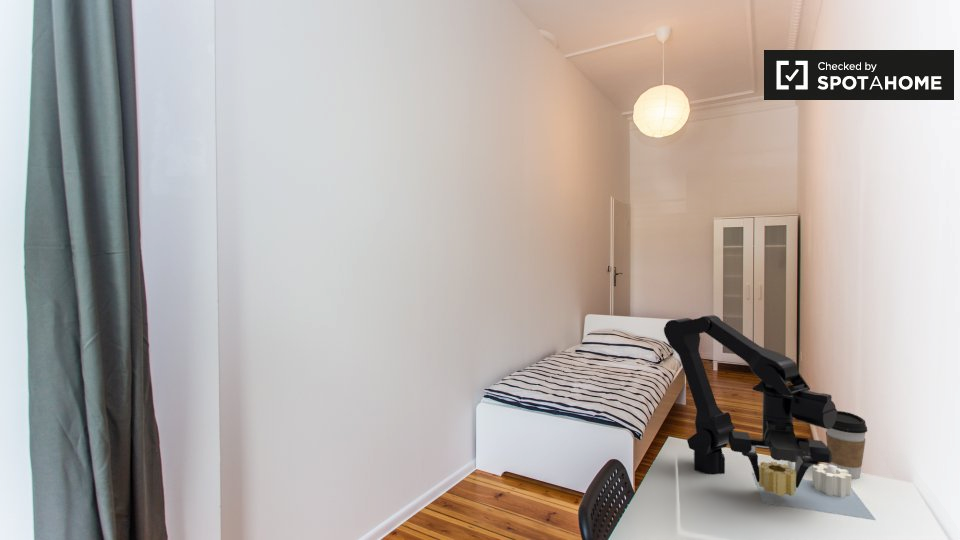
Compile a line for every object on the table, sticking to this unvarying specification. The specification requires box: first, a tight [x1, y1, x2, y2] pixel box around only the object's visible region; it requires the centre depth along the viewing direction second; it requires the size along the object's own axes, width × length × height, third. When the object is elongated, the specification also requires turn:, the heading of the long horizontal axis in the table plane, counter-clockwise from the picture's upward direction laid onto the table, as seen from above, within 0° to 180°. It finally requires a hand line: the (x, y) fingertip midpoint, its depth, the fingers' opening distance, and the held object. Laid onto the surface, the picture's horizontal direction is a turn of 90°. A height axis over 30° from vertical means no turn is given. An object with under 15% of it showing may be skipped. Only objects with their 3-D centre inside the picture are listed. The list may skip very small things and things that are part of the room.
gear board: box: [751, 461, 876, 521], centre depth 108 cm, size 20×15×6 cm
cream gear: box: [812, 463, 852, 498], centre depth 109 cm, size 7×7×4 cm
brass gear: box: [758, 461, 796, 496], centre depth 106 cm, size 7×7×4 cm
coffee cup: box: [825, 410, 868, 480], centre depth 117 cm, size 8×8×15 cm
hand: (776, 484), depth 106 cm, fingers closed on brass gear, 7 cm apart
